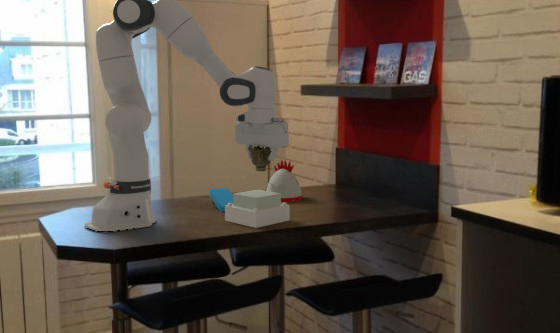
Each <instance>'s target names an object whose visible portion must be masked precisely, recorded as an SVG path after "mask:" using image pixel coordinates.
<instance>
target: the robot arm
mask: <svg viewBox="0 0 560 333" xmlns="http://www.w3.org/2000/svg"><path fill="white" fill-rule="evenodd" d="M112 7H113V8H112V16H113V19H114V20H113V21H111V22H109V23H104V24H102V25H101V26H100V27H99V28H97V30H96V32H95V47H96V55H97V60H98V66H99V70H100V75H101V78H102V83H103V84H102V85H103V86H104V89H105V90H106V92H107V95H108V97H109V100H110V103H111V104H112V107H111V108H110V109H109V110H108V112H107V113H106V115H105V119H104V121H105V126H106V129H107V132H108V137H109V143H110V146H111V150H112V158H113V161H112V162H113V178H114V179H113V180H112V181H111V182H109V181H104V183H103V184H102V186H103V188H105V189H109V192H108V193H107V194H106V195H105V196H104V197H103V198H102V199H101V200H100V201H99V202H97V203H96V205H95V206H93V209H92V213H91V221H87V222H84V228H85V227H87V228H89V229H93V230H97V231H113V232H118V231H117V230H120V231H126V229H128V230H134V229H133V228H135V229H140V228H142V229H143V228H149V227H151V226H152V225H153V224H154V223H155V222H156V221H157V220H156V217H155V214H154V210H153V205H152V198H151V193H152V180H151V178H150V165H149V164H150V163H149V162H150V161H149V153H148V150H147V145H146V141H145V140H146V139H145V132H146V131H147V130H148V129H149V128H150V125H151V123H152V113H151V111H150V108H149V105H148V102H147V99H146V96H145V93H144V91H143V88H142V85H141V82H140V78H139V74H138V69H137V64H136V60H135V56H134V51H133V46H132V44H133V43H132V41H133V39H135V38H137V37H138V36H141V35H143V34H145V33H146V32H148V31H149V30H150V29H151V28H154V29H156V30H157V31H158V32H159V33H160V34H161V35H162V36H163V37H164V38H165V39H166V40H167V42H168V43H169V44H170V45H171V46H172V47H173V48H174V49H175V50H176V51H178V52H179V53H181V54H182V55H183V56H185V57H187V58H188V59H190V60H191V61H193V62H195V63H197V64H198V65H199V66H200V67H201V68H202V69H204V71H205V73H207V74H208V75H209V76H210V78H212V80H213V81H214V83H216V86H218V88H219V96H220V98H221V100H222V101H223V102H224V104H226V105H227V106H230V107H234V108H236V107H238V108H239V107H242V106H244V105H247V106H248V110H247V111H246V112H243V113H239V114H236V115H235V120H236V124H235V128H234V141H235V143H236V144H237V145H238V144H239V145H245V148H244V149H245V151H246V152H247V153H248V154H247V158H248V159H249V160H251V153H250V147H251V148H254V146H256V147H257V146H260V147H262V146H263V147H264V148H265V147H270V151H271V153H270V155H269V156H268V157H267V158H268V159H267V160H268V161H271V162H274V161H275V156H276V154H277V152H278V149H286V148H288V147H289V145H290V135H289V122H288V121H286V119H284V118H278V117H276V114H277V113H276V110H277V108H276V102H275V101H276V96H277V81H276V80H277V79H276V74H275V72H274V70H272V69H270V68H267V67H262V66H259V65H255V66H253V65H252V66H251V67H250V68H249V69H247V70H245V71H242V72H241V73H238V74H235V73H234V72H233V71H231V70H230V69H229V67H228V66H227V65H226V64H225V62H224V61H222V60H221V58H220V57H219V56H218V55H217V54H216V52H215V50H214V49H213V47H212V45H211V43H210V41H209V38H208V37H207V35H206V32H205V31H204V29H203V28H202V26H201V24H200V23H199V22H198V21H197V19H196V18H195V17H194V16H193V15H192V14H191V13H190V11H189V10H188V9H187V8H185V6H184V5H182V4H181V3H180V2H179V1H178V0H155V1H154V2H152V1H150V0H115V3H114V4H113V6H112ZM87 228H86V229H87ZM89 229H88V230H89ZM97 231H96V232H97Z"/></svg>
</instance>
